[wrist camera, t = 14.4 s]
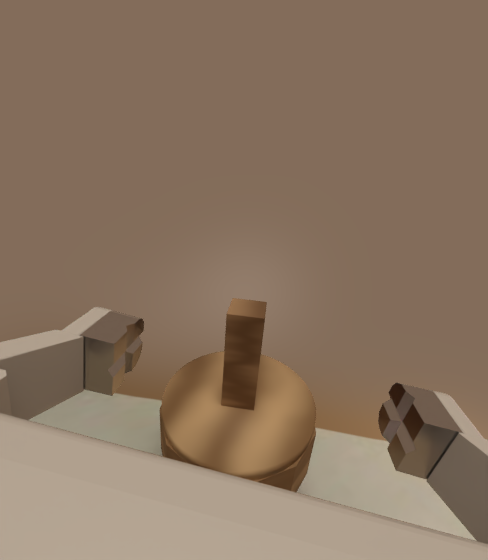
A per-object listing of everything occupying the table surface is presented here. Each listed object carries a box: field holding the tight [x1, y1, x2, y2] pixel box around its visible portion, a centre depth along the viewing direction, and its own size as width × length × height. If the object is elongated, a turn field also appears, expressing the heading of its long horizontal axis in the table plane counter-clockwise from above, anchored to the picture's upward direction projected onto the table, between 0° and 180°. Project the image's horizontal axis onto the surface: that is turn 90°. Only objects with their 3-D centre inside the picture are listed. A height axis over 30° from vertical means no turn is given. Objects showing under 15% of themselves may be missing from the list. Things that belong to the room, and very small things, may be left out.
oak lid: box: [160, 298, 316, 492], centre depth 28 cm, size 15×15×17 cm
